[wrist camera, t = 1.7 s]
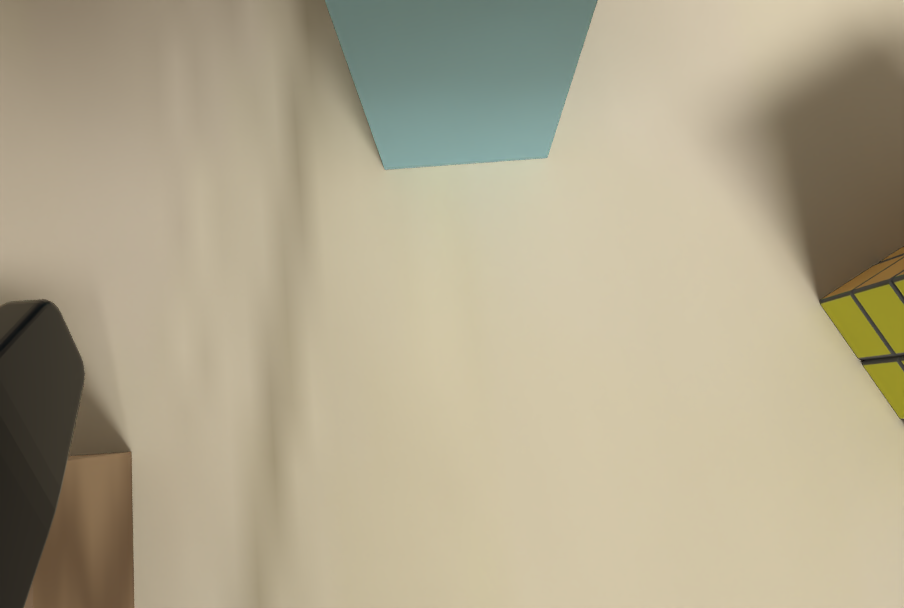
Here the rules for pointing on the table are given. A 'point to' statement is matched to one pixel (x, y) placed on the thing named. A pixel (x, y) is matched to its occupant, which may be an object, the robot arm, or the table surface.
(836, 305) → the puzzle toy
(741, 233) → the table surface
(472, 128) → the teal block
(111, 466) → the walnut cube
